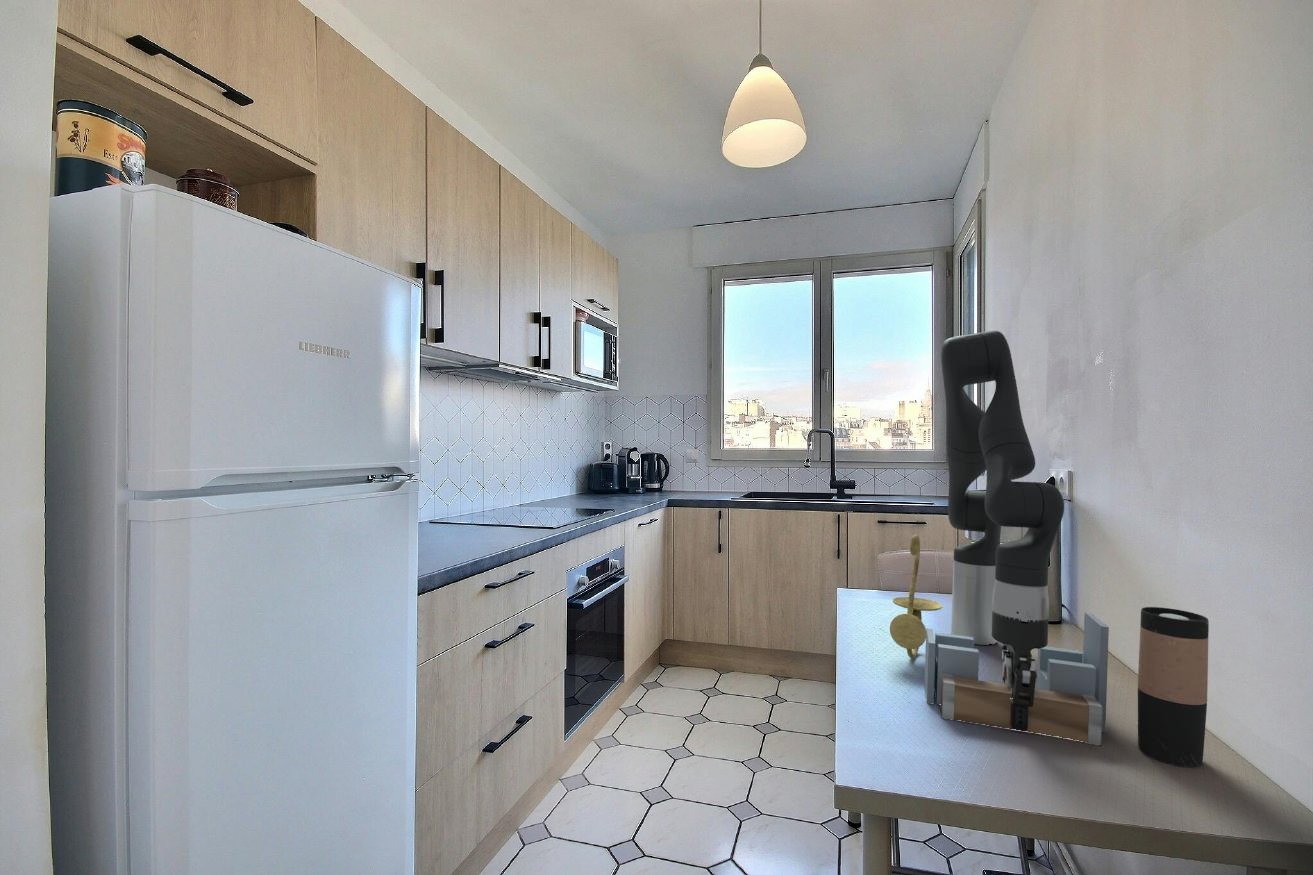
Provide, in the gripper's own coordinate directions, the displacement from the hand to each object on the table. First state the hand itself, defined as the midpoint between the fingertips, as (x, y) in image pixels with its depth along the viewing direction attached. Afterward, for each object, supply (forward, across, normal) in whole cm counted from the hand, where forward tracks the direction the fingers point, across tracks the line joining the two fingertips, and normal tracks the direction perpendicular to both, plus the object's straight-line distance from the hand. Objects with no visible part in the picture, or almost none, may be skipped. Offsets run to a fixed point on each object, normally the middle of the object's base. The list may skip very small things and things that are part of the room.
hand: (1016, 722), depth 97 cm
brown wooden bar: (+1, 0, 0) cm, 1 cm away
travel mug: (+1, +1, +19) cm, 19 cm away
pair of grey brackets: (+1, -8, 0) cm, 8 cm away
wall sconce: (+1, -27, -14) cm, 30 cm away
